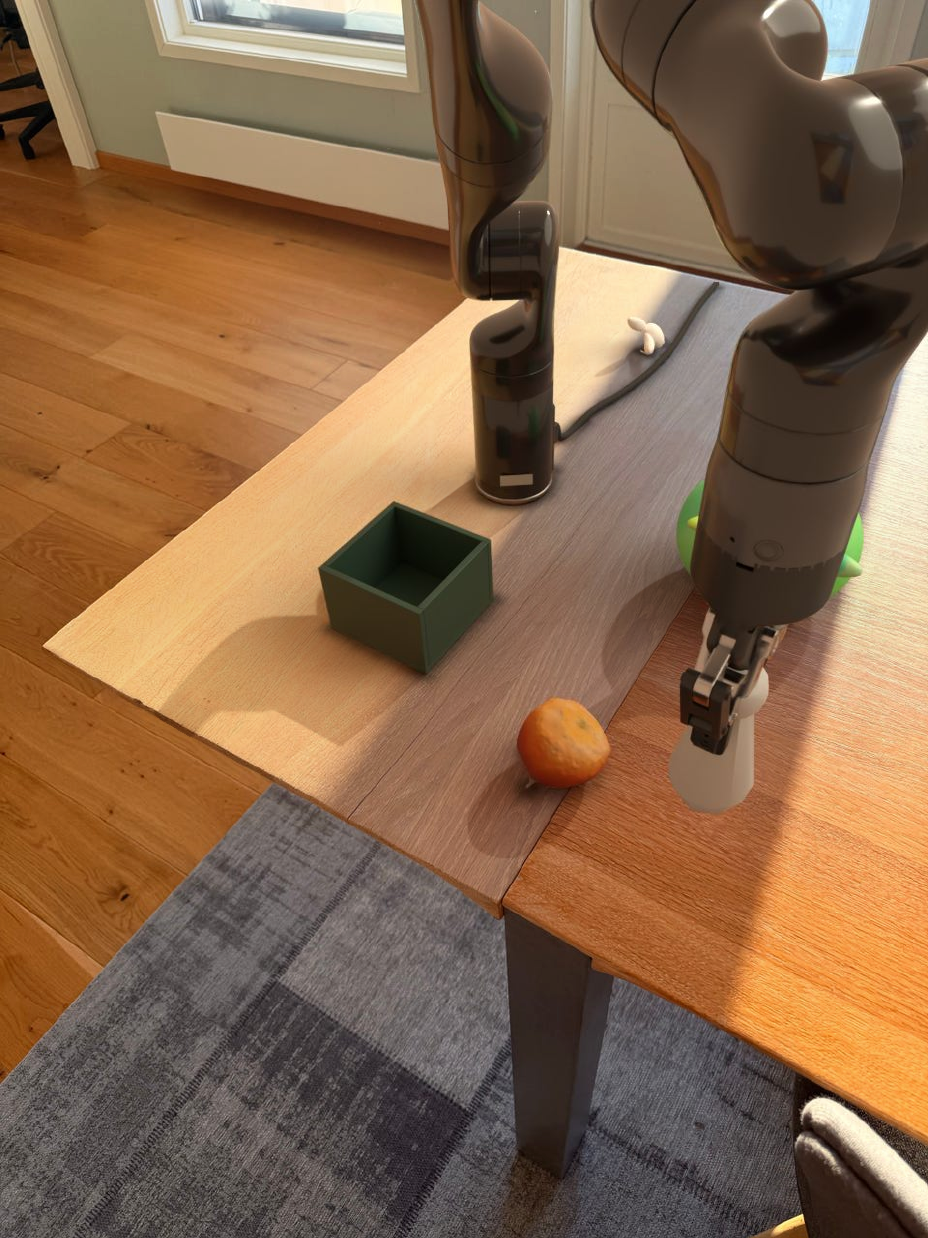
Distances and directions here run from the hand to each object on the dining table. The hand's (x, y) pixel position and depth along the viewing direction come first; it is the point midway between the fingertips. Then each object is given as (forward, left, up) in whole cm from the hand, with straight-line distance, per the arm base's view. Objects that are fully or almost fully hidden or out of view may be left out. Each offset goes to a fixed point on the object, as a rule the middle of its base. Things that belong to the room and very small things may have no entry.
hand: (723, 718), depth 58 cm
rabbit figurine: (-74, -40, -21) cm, 87 cm away
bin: (-13, -37, -21) cm, 44 cm away
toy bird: (-35, -8, -21) cm, 42 cm away
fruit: (-4, -14, -21) cm, 26 cm away
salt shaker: (0, 0, -8) cm, 8 cm away
